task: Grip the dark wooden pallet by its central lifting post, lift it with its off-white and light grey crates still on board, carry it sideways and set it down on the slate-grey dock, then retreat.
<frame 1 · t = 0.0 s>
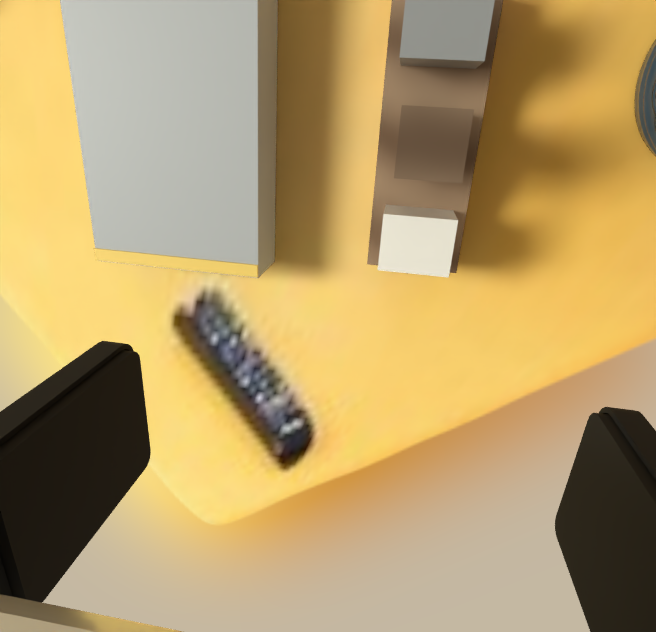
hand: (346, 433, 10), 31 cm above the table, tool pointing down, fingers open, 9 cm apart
crate a: (415, 233, 36), point 3 cm above the table
pallet: (426, 139, 36), on the table, touching crate b
crate b: (442, 32, 31), point 3 cm above the table, touching pallet
dock: (194, 124, 38), on the table
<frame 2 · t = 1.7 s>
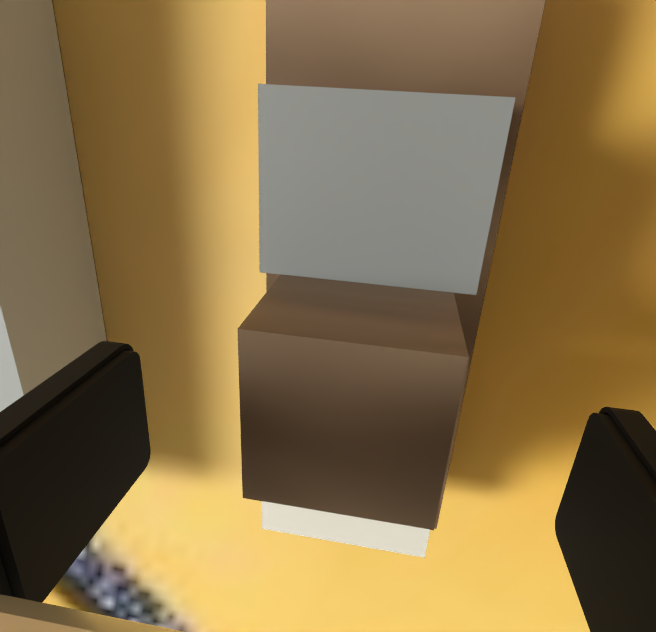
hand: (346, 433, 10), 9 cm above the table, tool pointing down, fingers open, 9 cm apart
crate a: (359, 411, 17), point 3 cm above the table
pallet: (377, 268, 18), on the table, touching crate b
crate b: (382, 172, 13), point 3 cm above the table, touching pallet
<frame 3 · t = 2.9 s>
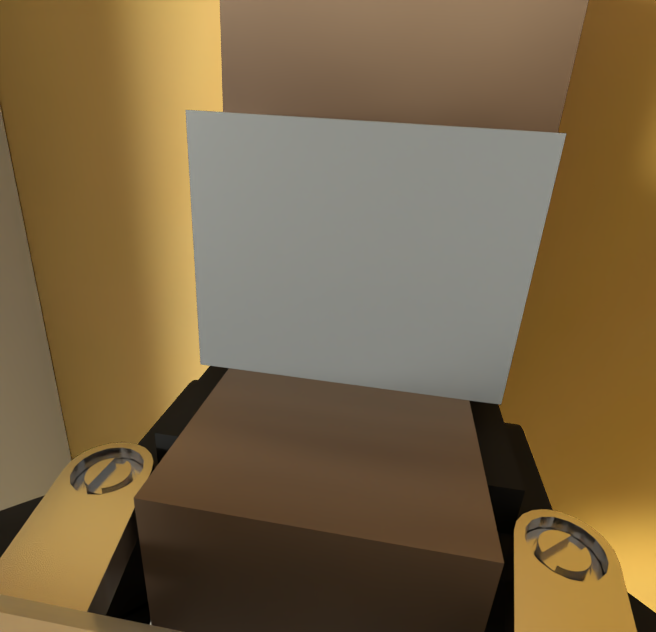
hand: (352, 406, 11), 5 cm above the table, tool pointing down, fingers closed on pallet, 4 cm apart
pallet: (369, 320, 15), on the table, touching crate a, crate b, gripper
crate b: (373, 217, 11), point 3 cm above the table, touching pallet
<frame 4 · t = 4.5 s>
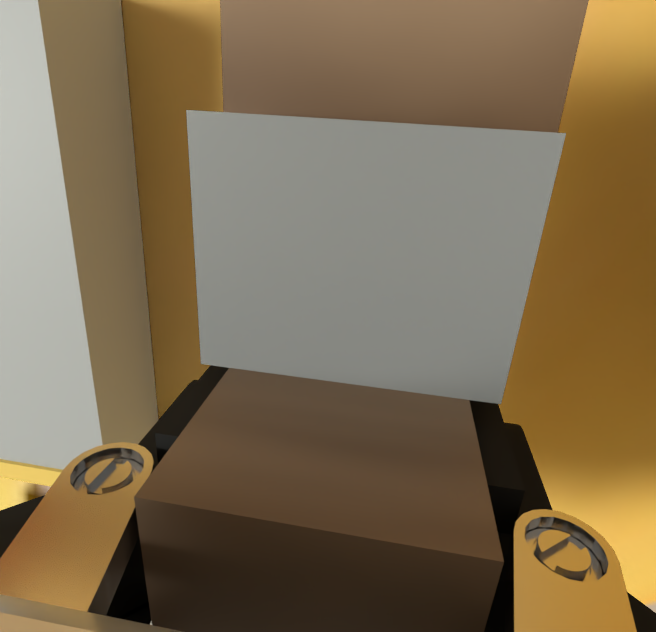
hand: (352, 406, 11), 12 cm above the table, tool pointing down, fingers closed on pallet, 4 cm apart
pallet: (369, 320, 15), point 7 cm above the table, touching crate a, crate b, gripper
crate b: (373, 217, 11), point 11 cm above the table, touching pallet
dock: (19, 241, 24), on the table
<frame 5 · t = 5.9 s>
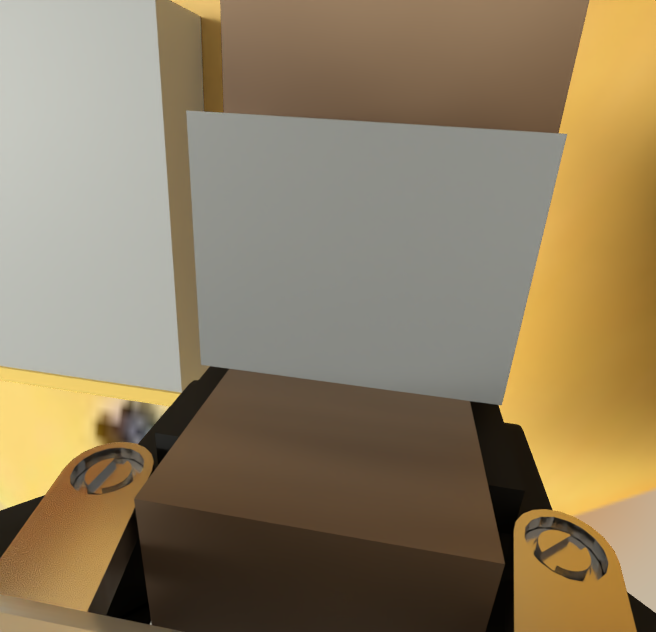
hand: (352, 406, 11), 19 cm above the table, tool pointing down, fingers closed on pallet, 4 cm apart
pallet: (369, 320, 15), point 14 cm above the table, touching crate a, crate b, gripper
crate b: (373, 217, 11), point 17 cm above the table, touching pallet
dock: (106, 208, 30), on the table
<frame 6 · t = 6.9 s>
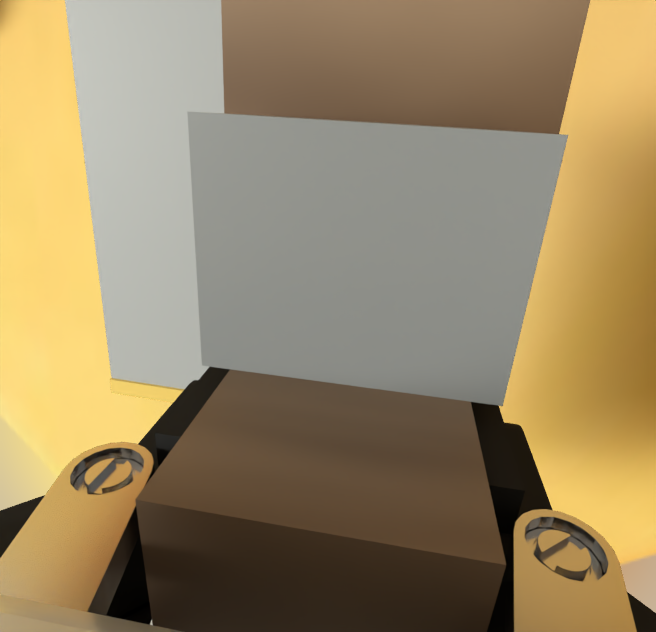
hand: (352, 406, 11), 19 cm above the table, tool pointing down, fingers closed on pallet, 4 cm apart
pallet: (370, 321, 15), point 14 cm above the table, touching crate a, crate b, gripper
crate b: (374, 218, 11), point 18 cm above the table, touching pallet
dock: (244, 218, 29), on the table
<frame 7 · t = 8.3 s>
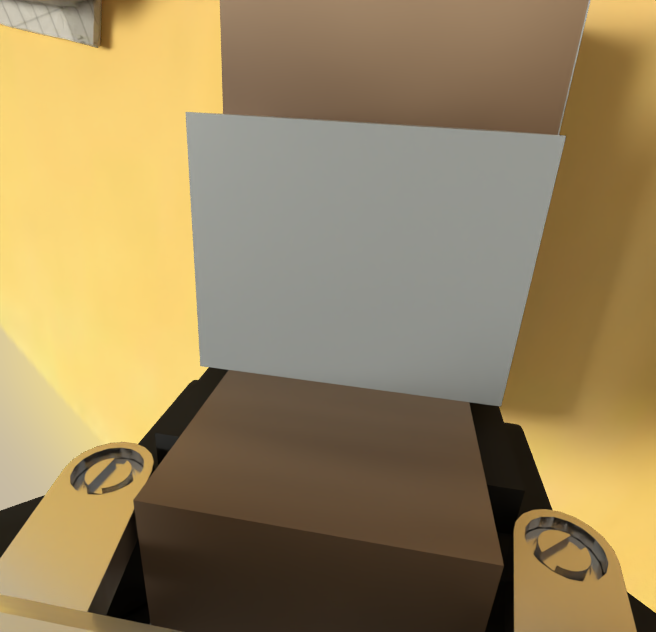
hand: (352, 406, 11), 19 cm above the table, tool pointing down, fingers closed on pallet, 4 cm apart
pallet: (369, 321, 15), point 14 cm above the table, touching crate a, crate b, gripper
crate b: (373, 218, 11), point 17 cm above the table, touching pallet
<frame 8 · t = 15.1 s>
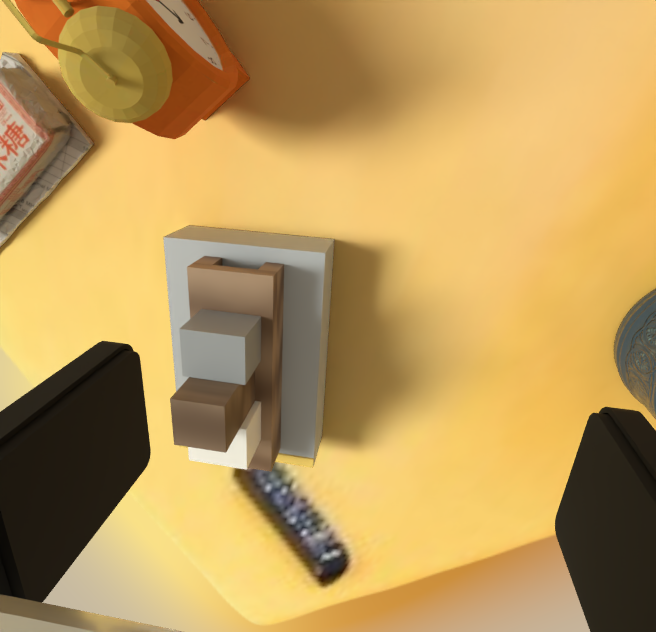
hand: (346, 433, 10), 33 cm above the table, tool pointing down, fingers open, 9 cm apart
alarm clock: (190, 45, 38), on the table
crate a: (233, 416, 41), point 8 cm above the table, touching pallet
pallet: (245, 359, 43), point 5 cm above the table, touching crate a, crate b, dock
crate b: (231, 335, 38), point 8 cm above the table, touching pallet
dock: (260, 338, 47), on the table
packaged product: (9, 160, 45), on the table
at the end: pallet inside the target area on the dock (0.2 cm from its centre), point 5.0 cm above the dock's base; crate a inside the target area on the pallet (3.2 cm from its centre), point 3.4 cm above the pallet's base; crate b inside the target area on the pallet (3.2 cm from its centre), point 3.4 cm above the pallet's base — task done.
